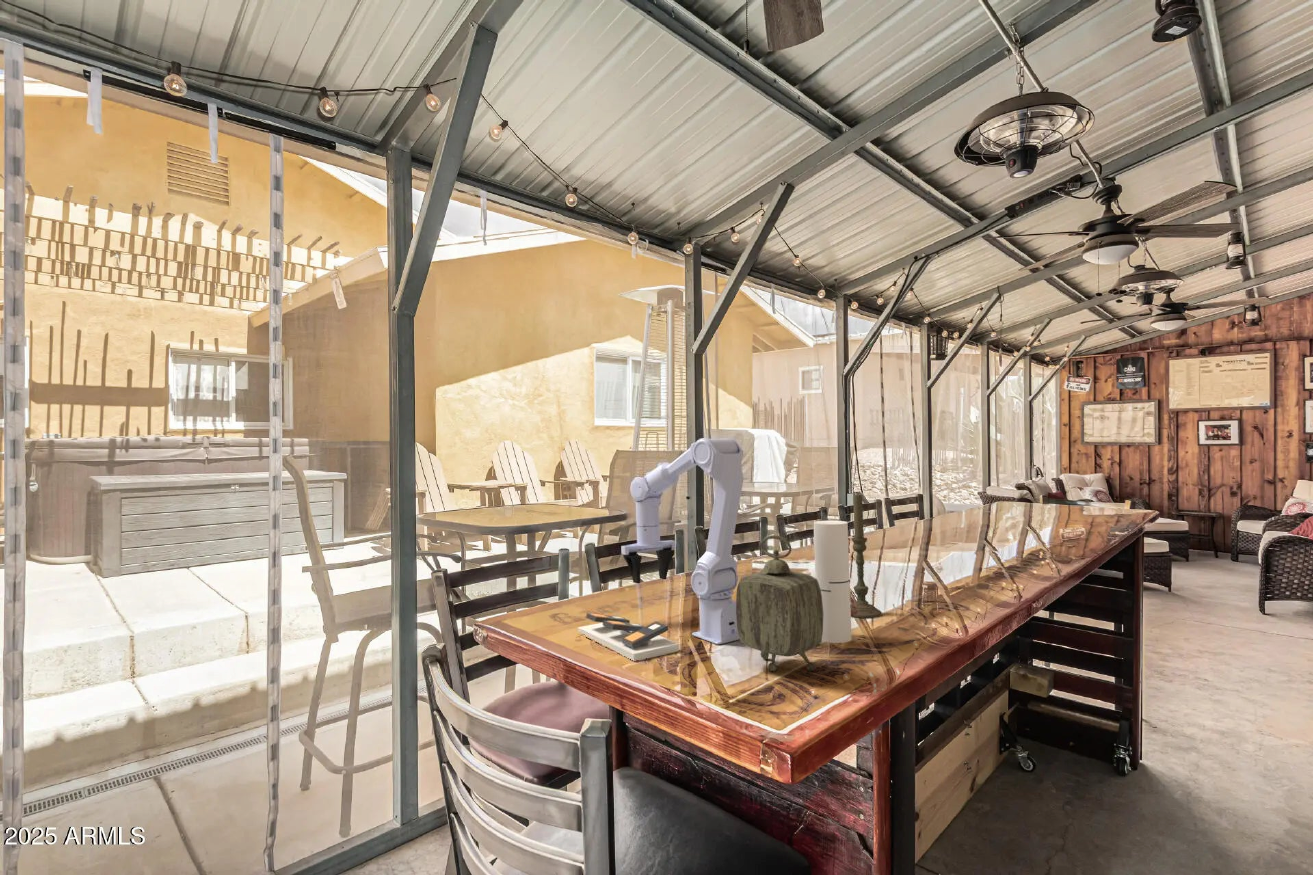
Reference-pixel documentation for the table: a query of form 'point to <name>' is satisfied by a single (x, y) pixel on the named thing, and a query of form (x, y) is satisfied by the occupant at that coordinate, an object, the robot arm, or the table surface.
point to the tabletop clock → (779, 610)
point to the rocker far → (606, 618)
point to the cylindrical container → (833, 579)
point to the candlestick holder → (860, 565)
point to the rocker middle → (622, 626)
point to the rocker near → (644, 634)
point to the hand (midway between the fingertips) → (649, 580)
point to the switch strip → (640, 652)
